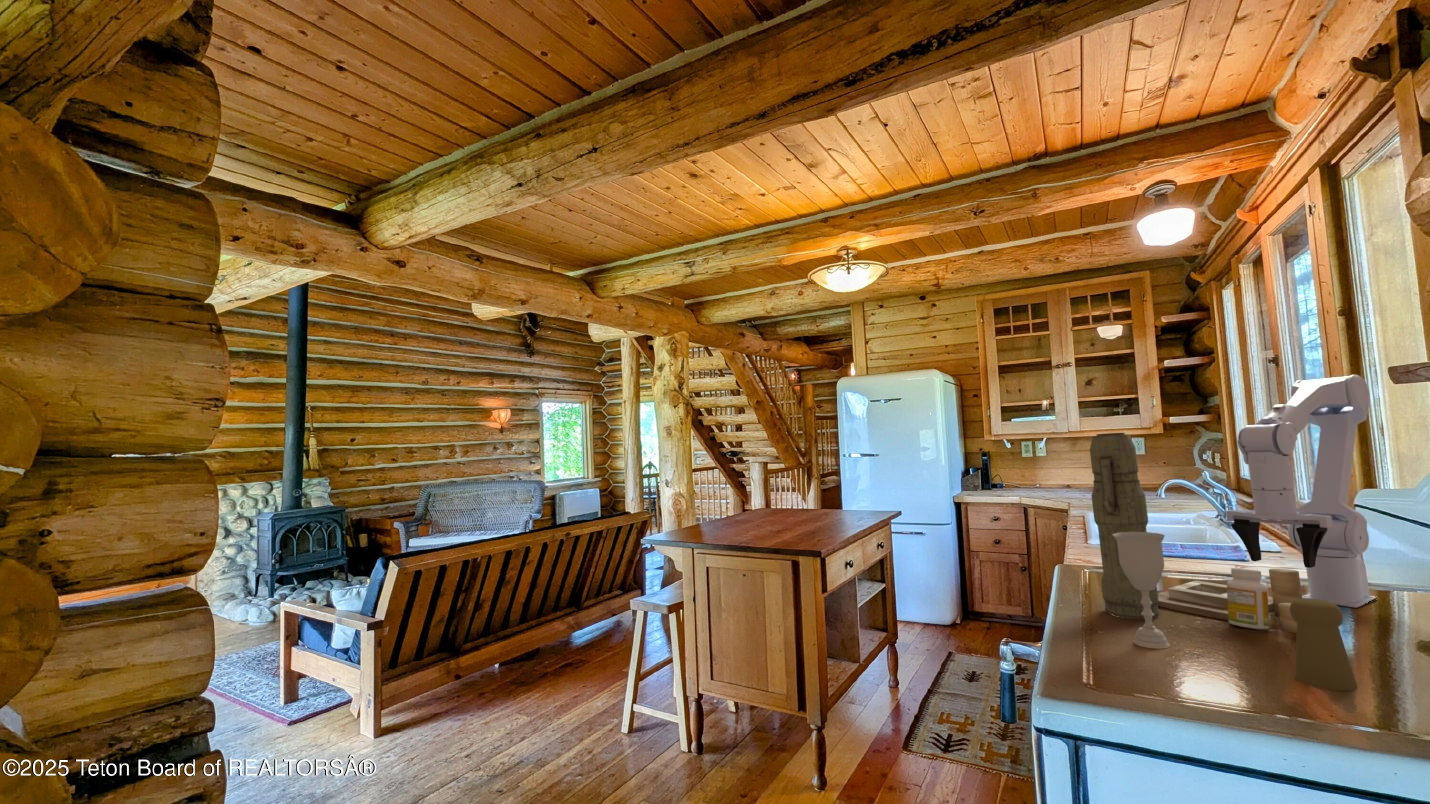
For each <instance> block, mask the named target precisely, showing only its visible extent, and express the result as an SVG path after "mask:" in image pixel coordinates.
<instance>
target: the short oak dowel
mask: <svg viewBox="0 0 1430 804" xmlns="http://www.w3.org/2000/svg"><path fill="white" fill-rule="evenodd" d="M1290 605H1291V603H1279V604H1278V608H1279V615H1280V616H1279V621H1280V629H1282V630H1283V631H1286V632H1288V633H1289V632H1290V633H1295V634H1297V622H1296V621H1295V620H1294V619H1293V618H1292V616H1291V614H1290Z"/></svg>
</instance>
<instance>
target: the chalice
mask: <svg viewBox="0 0 1430 804" xmlns="http://www.w3.org/2000/svg"><path fill="white" fill-rule="evenodd" d="M1113 536H1114V538H1115V539H1116V541H1117V544H1118V553H1119V561H1120V565H1121V567H1122V569H1123V571H1124V573H1125V575H1126V576H1127V578H1128V579H1129V581H1130V582H1131V584H1132V585H1133V587H1134V588H1136V589H1138V590H1141V593H1142V600H1141V604H1142V605H1143V607H1144V609H1143V612H1142V613H1141V614H1142V615H1143V616H1144V618H1145V620H1144V624H1143V625H1142V626H1141V627H1139V628H1138V629H1137V630H1136V633H1135V634H1134V638H1133V640H1132V643H1133V644H1134V645H1136V646H1140V647H1143V648H1146V649H1147V648H1148V649H1159V650H1160V649H1167V648H1169V647H1171V644H1170V643H1169V641H1167V638H1166V636H1165V635H1164V633H1163V631H1162V630H1160V629H1159V628H1156V626H1155V625H1154V623H1153V619H1152V616H1154V614H1153V613H1152V611H1151V609H1150V607H1151V604H1152V602H1151V601H1150V598H1149V591H1151V590H1154V589H1155V588H1156V586H1157V587H1158V584H1159V581H1161V578H1162V575H1163V572H1164V568H1165V560H1164V553H1163V544H1162V542H1163V540H1164V538H1165V534H1163V533H1158V532H1150V531H1148V532H1120V533H1115V534H1113Z"/></svg>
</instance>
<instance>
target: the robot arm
mask: <svg viewBox="0 0 1430 804" xmlns="http://www.w3.org/2000/svg"><path fill="white" fill-rule="evenodd" d="M1290 396H1291V397H1290V398H1289V400H1288V401H1287V402H1286V404H1285V403H1284V404H1282V403H1281V404H1274V405H1273V406H1272V407H1271V409H1270V410H1269V411H1268V412H1267V413H1266V414H1265V415H1264V416H1262V418H1260V419H1259V420H1258V421H1257V422H1256V423H1255V424H1248V425H1245V426H1244V427H1243V428H1241V429H1240V430H1239V432H1238V436H1237V440H1236V441H1237V445H1238V449H1239V450H1240V452H1241V454H1242V457H1243V462H1244V463H1245V465H1248V472H1249V480H1250V487H1251V495H1252V501H1253V509H1252V510H1251V509H1250V510H1249V509H1228V510H1225V515H1226V521H1227V522H1228V521H1230V522H1233V523H1231V528H1232V530H1233V531H1234V532H1235V533H1236V534H1237V536H1238V537H1239V539H1240V541H1242V543H1243V545H1244V546H1245V548H1246V552H1247V553H1248V555H1249V557H1250V560H1251V562H1260V561H1262V550H1261V545H1260V525H1261V523H1262V524H1263V523H1265V524H1275V525H1276V524H1278V525H1279V524H1281V525H1288V528H1287V533H1288V535H1287V536H1288V538H1289V541H1290V542H1291V543H1292V544H1293V546H1294V547H1295V548H1297V549H1298V550H1299V551H1298V552H1299V553H1302V559H1303V560H1302V561H1303V564H1304V565H1303V566H1304V568H1305V569H1306V570H1305V571H1306V576H1307V583H1308V591H1309V592H1308V593H1306V594H1304V595H1302V599H1306V598H1310V599H1320V600H1325V601H1329V602H1332V603H1334V604H1335V605H1337V606H1341V607H1350V608H1354V609H1355V608H1359V607H1361V606H1364V605H1366V604H1368V602H1369V601H1371V600H1372V599H1374V598H1376V597H1377V596H1376V595H1371V593H1370V588H1369V583H1368V582H1369V581H1368V580H1369V579H1368V575H1367V567H1366V565H1365V562H1364V561H1363V559H1361V557H1359V556H1362V555H1363V554H1364V553H1365V552H1366V551H1367V550H1368V548H1369V544H1370V536H1369V532H1368V521H1367V519H1366V517H1365V516H1364V515H1363V514H1362V513H1360V512H1359V511H1357V510H1356V509H1354V508H1352V507H1351V506H1350V505H1348V503H1349V497H1350V485H1351V477H1352V468H1353V460H1354V450H1355V443H1356V435H1357V426H1358V425H1359V424H1361V423H1363V422H1365V421H1366V420H1367V419H1368V414H1369V408H1370V397H1371V395H1370V390H1369V387H1368V384H1367V381H1366V380H1365V379H1364V378H1363V377H1362V376H1360V375H1359V374H1351V375H1347V376H1336V377H1326V378H1315V379H1305V380H1304V379H1299V380H1296V381H1295V382H1294V383H1293V384H1291V389H1290ZM1308 424H1312V425H1314V426H1317V427H1319V429H1320V431H1319V438H1318V439H1319V440H1318V448H1317V456H1316V463H1315V472H1314V477H1313V479H1314V480H1313V486H1312V495H1311V500H1309V501H1308V502H1306V503H1304V504H1302V505H1300V506H1298V507H1297V506H1296V505H1297V504H1296V502H1297V501H1296V497H1295V490H1294V481H1293V475H1292V469H1291V461H1290V454H1292V453H1293V452H1294V450H1295V447H1296V442H1297V440H1298V435H1299V434H1300V433H1301V432H1302V431H1303V430H1304V429H1305V428H1306V427H1307V425H1308ZM1375 596H1376V597H1375ZM1371 602H1372V601H1371ZM1365 603H1366V604H1365ZM1369 603H1370V602H1369Z"/></svg>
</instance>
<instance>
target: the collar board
mask: <svg viewBox="0 0 1430 804" xmlns="http://www.w3.org/2000/svg"><path fill="white" fill-rule="evenodd" d="M1158 600H1159V602H1158V606H1161V607H1160V608H1162V607H1165V608H1164V609H1167V608H1169V609H1168V610H1174V611H1178V612H1183V613H1188V614H1194V615H1198V616H1205V617H1209V618H1214V619H1220V620H1223V621H1229V620H1228V600H1227V584H1220V583H1215V582H1207V581H1202V580H1192V581H1190V582H1186V583H1182V584H1180V585H1179V584H1178V585H1175V586H1173V587H1169V588H1167V590H1164V591H1161V592H1158ZM1268 611H1269V612H1271V611H1274V605H1273V598H1272V596H1269V595H1268Z"/></svg>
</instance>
